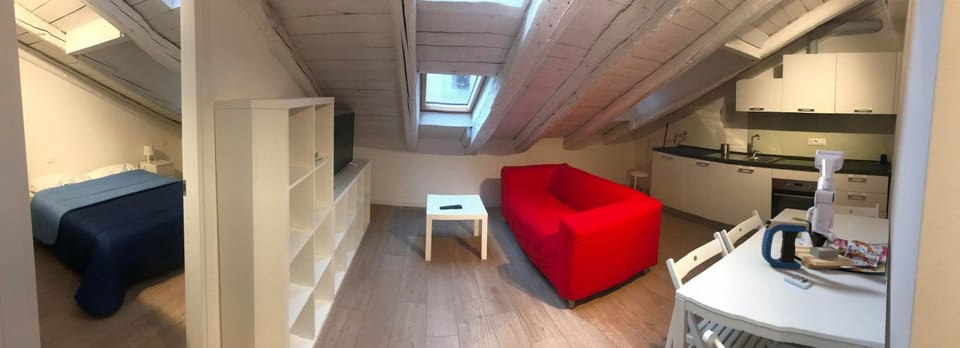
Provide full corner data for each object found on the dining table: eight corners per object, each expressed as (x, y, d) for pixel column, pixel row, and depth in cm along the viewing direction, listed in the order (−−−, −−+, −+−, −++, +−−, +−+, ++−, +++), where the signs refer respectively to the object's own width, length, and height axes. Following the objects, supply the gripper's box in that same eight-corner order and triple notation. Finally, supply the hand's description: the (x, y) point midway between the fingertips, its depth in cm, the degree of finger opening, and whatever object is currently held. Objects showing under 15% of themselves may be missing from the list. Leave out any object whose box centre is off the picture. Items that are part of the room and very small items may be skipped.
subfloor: (777, 252, 199) (779, 244, 198) (818, 252, 199) (819, 244, 199) (811, 270, 179) (813, 261, 179) (856, 270, 180) (858, 262, 179)
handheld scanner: (807, 270, 179) (814, 222, 176) (763, 266, 182) (769, 220, 179) (802, 266, 183) (808, 220, 180) (758, 263, 186) (764, 217, 183)
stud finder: (809, 253, 187) (810, 246, 187) (828, 254, 188) (829, 246, 187) (818, 258, 183) (819, 250, 182) (837, 258, 183) (839, 250, 182)
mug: (779, 230, 225) (789, 212, 223) (790, 234, 229) (801, 216, 227) (803, 242, 214) (814, 223, 212) (814, 246, 219) (826, 228, 217)
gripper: (799, 214, 193) (794, 244, 196) (825, 224, 179) (820, 257, 181) (815, 214, 193) (811, 244, 196) (843, 224, 179) (837, 257, 182)
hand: (816, 250), depth 189 cm, fingers closed
